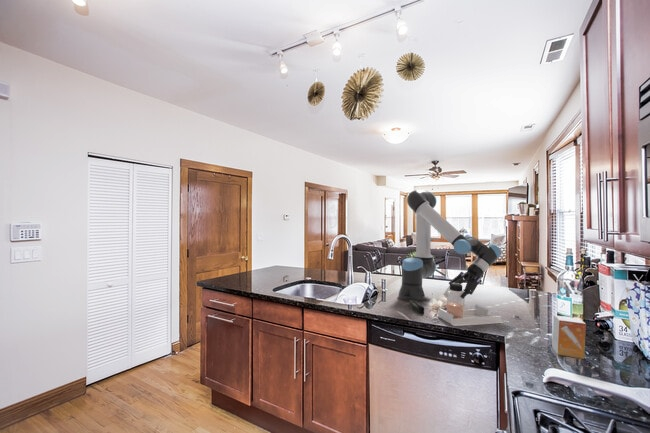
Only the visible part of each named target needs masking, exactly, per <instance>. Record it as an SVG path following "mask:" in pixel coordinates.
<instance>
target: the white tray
mask: <svg viewBox="0 0 650 433" xmlns="http://www.w3.org/2000/svg"><path fill="white" fill-rule="evenodd" d="M436 316H437V317H439V319H442V320H443V321H445V322H447V323H449V324H451V325H452V326H454V327H460V326H462V327H463V326H475V325H477V326H478V325H488V324H489V325H493V324H503V323H504V322H502V316H501V315H490V316H486V317H479V316H477V315H475V308H472V309H471V308H469V309H463V318H454V319H453V315H452V314H450V313H448V312H447V310H445V309H443V308H439V309H438V311H437V315H436Z"/></svg>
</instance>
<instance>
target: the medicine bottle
mask: <svg viewBox="0 0 650 433" xmlns="http://www.w3.org/2000/svg"><path fill="white" fill-rule="evenodd" d="M449 286H450V291H447V298H446V304H447V303H457V302H456V301H455V300H454V299H455V298H456V297H457V296H458V295H459V294H460V293H461V292H462V291H463V284H459V283H451V284H449ZM457 304H461V305H463V310H465V298H463V299H462V300H461V301H460V302H459V303H457Z"/></svg>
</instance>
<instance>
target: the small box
mask: <svg viewBox="0 0 650 433" xmlns="http://www.w3.org/2000/svg"><path fill="white" fill-rule="evenodd" d="M586 328H587V324H586V322H584V321H583V320H582V319H581V318H579V317H572V316H564V315H555V314H554V315H553V322H552V345H551V347H552V348H551V349H553V351H554V352H555V354H557V355H558V356H563V357H570V358H575V359H582V360H584V359H585V349H586Z"/></svg>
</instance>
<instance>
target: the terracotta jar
mask: <svg viewBox="0 0 650 433" xmlns="http://www.w3.org/2000/svg"><path fill="white" fill-rule="evenodd" d="M463 310H464V309H463V305H461V304H457V303H447V302H446V311H447V312H448V313H450V314H452V315H453V319H454V318H463Z"/></svg>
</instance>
